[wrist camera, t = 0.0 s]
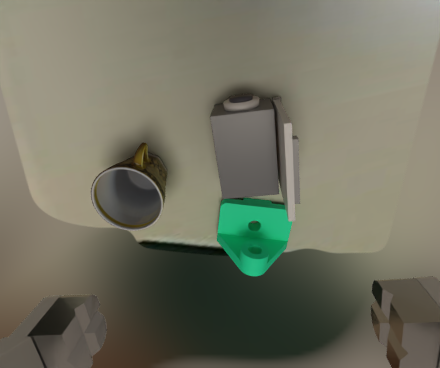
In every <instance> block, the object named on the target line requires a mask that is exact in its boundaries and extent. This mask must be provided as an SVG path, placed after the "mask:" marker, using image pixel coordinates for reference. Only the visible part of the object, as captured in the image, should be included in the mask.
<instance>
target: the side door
mask: <svg viewBox="0 0 440 368" xmlns="http://www.w3.org/2000/svg"><path fill="white" fill-rule="evenodd" d="M272 101H273V108H274V119H275V135H276V152H277V168H278V179H279V184H280V188H281V192H282V196H283V200H284V204H285V209H286V213H287V217H288V221H295V204H300V182H299V145H298V137H297V136H292V122H291V120H290V119H289V117H288V115H287V113H286V111H285V109H284V107H283V105H282V104H281V97H273V98H272Z"/></svg>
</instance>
